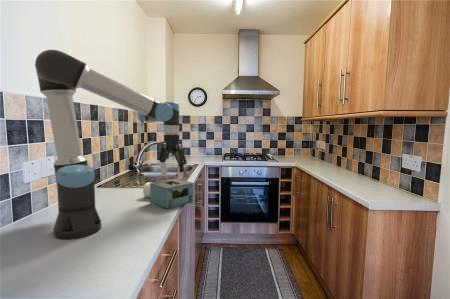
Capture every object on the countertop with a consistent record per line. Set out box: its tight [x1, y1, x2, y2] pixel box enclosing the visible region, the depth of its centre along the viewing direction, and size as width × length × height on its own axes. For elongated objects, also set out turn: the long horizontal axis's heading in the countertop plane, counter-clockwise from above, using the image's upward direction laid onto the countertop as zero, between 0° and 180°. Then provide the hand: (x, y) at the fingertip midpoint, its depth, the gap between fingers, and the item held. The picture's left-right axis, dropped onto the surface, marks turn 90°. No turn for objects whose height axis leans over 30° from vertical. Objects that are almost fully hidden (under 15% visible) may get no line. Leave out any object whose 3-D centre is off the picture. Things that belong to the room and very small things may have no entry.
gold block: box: [171, 184, 183, 199], centre depth 127 cm, size 6×3×7 cm, turn 48°
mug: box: [142, 182, 151, 198], centre depth 138 cm, size 12×10×8 cm
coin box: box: [149, 178, 194, 210], centre depth 127 cm, size 16×14×10 cm
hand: (171, 176), depth 126 cm, fingers open, 13 cm apart
